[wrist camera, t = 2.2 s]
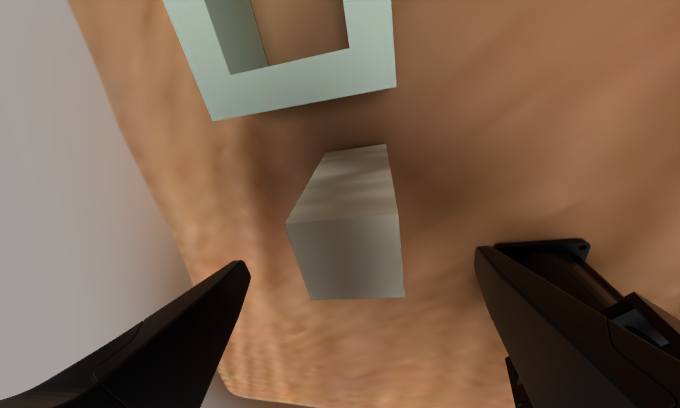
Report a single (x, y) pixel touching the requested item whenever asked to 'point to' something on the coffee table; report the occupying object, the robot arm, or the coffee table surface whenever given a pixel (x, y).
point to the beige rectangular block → (349, 228)
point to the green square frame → (286, 78)
